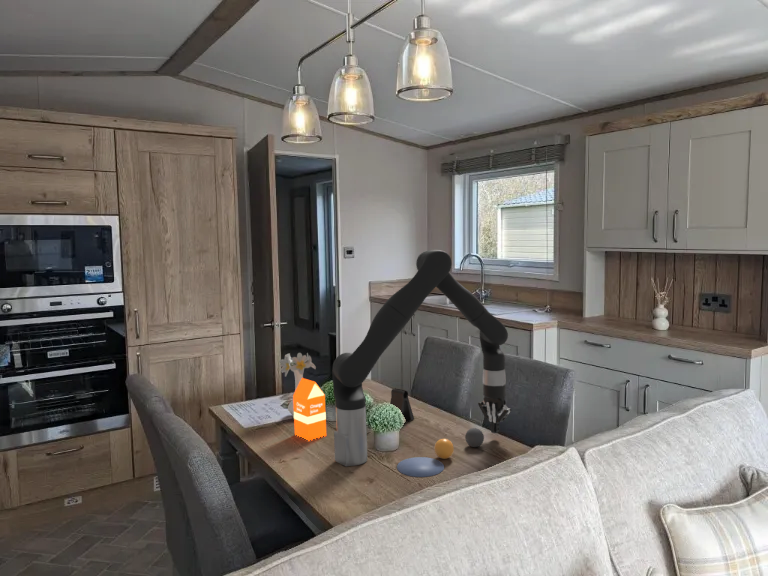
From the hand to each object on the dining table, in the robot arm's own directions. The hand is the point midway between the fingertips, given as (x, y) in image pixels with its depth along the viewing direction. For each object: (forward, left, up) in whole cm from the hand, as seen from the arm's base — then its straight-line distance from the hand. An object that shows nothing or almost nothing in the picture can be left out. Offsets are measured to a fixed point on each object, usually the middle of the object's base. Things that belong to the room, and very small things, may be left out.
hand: (494, 432), depth 187 cm
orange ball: (-24, 0, +1) cm, 24 cm away
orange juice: (-44, +46, -3) cm, 64 cm away
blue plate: (-34, 0, -2) cm, 34 cm away
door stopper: (-11, +36, -3) cm, 38 cm away
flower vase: (-36, +68, -2) cm, 77 cm away
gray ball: (-10, 0, +1) cm, 10 cm away
